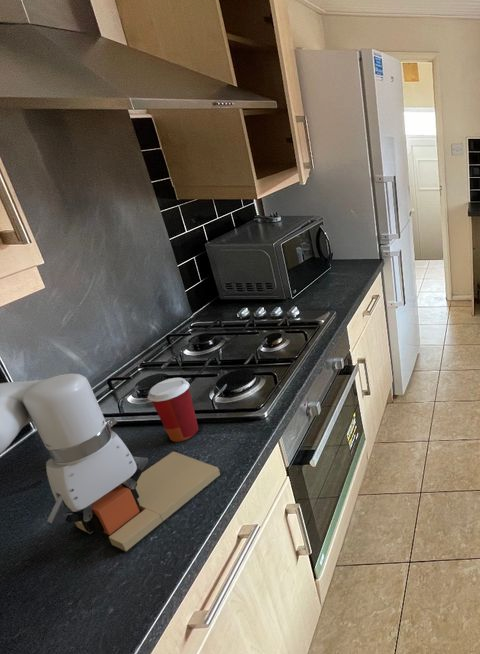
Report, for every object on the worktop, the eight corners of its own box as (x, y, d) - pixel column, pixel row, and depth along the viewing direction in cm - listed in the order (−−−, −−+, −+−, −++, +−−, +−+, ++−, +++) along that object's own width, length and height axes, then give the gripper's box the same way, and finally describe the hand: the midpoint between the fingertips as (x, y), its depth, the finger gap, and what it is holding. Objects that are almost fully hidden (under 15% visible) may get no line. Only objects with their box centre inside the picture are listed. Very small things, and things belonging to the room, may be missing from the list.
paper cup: (203, 418, 107) (187, 372, 102) (204, 435, 101) (188, 388, 96) (164, 431, 103) (146, 384, 97) (163, 450, 97) (144, 401, 92)
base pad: (126, 551, 75) (122, 544, 74) (77, 527, 79) (73, 520, 78) (220, 474, 90) (218, 467, 90) (175, 457, 95) (173, 451, 94)
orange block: (109, 535, 76) (98, 511, 74) (92, 526, 77) (80, 503, 75) (140, 512, 80) (130, 489, 78) (123, 504, 82) (113, 481, 80)
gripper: (123, 406, 81) (151, 476, 87) (-2, 473, 66) (44, 552, 72) (149, 415, 78) (176, 486, 85) (26, 487, 63) (70, 567, 70)
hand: (115, 516), depth 79 cm, fingers closed on orange block, 5 cm apart
